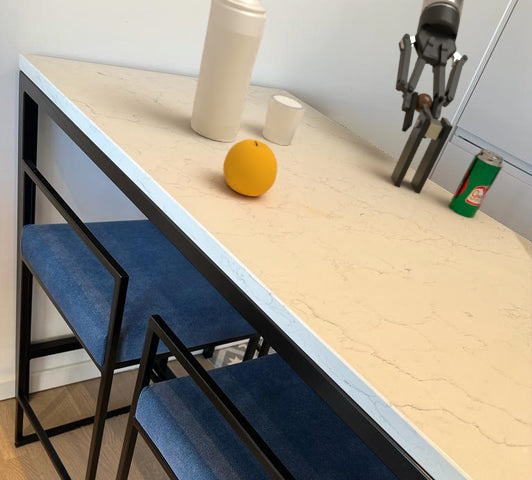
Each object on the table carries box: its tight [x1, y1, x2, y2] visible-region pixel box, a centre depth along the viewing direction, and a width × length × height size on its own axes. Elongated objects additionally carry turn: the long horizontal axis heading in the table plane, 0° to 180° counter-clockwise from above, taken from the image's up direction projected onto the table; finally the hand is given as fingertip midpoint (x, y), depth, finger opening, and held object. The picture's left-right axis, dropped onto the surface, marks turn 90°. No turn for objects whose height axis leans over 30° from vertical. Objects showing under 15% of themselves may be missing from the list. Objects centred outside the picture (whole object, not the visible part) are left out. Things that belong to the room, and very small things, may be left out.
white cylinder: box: [262, 93, 306, 146], centre depth 105 cm, size 7×7×7 cm
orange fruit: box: [222, 138, 278, 197], centre depth 83 cm, size 8×8×8 cm
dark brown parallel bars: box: [390, 110, 454, 195], centre depth 102 cm, size 10×8×14 cm
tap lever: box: [415, 92, 442, 140], centre depth 102 cm, size 14×3×3 cm, turn 179°
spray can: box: [190, 0, 268, 143], centre depth 92 cm, size 12×11×25 cm
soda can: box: [447, 148, 505, 219], centre depth 101 cm, size 5×5×12 cm
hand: (416, 131), depth 106 cm, fingers closed on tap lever, 3 cm apart
